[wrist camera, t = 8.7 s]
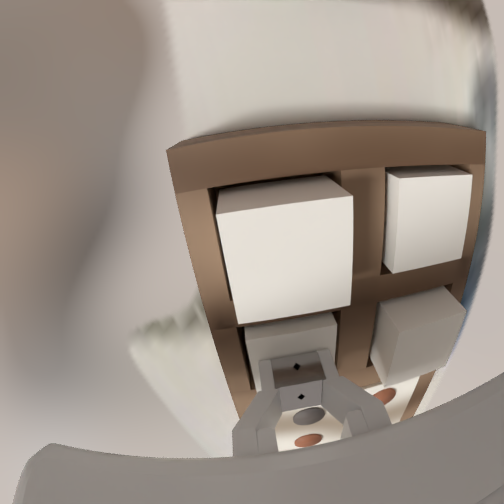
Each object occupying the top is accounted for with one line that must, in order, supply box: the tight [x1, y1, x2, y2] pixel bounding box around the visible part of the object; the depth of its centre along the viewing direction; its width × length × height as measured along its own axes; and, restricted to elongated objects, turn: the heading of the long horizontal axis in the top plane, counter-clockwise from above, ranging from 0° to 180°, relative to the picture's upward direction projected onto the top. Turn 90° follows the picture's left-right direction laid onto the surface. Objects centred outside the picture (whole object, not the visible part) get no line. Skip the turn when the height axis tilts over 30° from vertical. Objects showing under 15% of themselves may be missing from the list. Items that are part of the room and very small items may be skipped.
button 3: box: [369, 286, 467, 388], centre depth 12 cm, size 4×4×2 cm
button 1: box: [244, 312, 337, 392], centre depth 13 cm, size 4×4×2 cm
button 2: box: [216, 175, 353, 324], centre depth 9 cm, size 4×4×2 cm
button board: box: [166, 120, 486, 452], centre depth 14 cm, size 20×12×3 cm, turn 8°
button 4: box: [382, 165, 472, 274], centre depth 10 cm, size 4×4×2 cm
